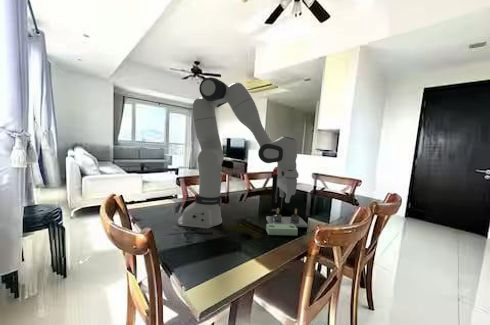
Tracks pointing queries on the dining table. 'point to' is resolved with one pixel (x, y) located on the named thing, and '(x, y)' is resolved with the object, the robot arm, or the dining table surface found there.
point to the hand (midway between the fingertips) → (284, 199)
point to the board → (281, 229)
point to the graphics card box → (275, 194)
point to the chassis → (286, 219)
